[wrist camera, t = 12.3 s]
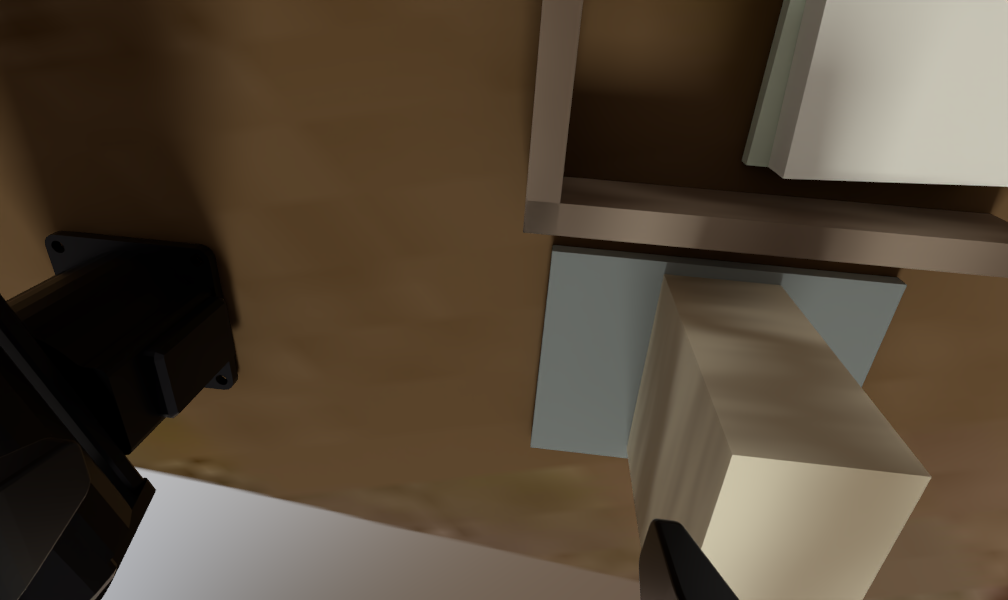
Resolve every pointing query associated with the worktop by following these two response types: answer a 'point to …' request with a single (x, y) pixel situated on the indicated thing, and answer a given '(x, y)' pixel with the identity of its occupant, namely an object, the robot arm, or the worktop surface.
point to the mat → (628, 325)
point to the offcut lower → (773, 85)
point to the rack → (728, 199)
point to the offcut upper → (897, 93)
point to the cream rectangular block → (765, 446)
